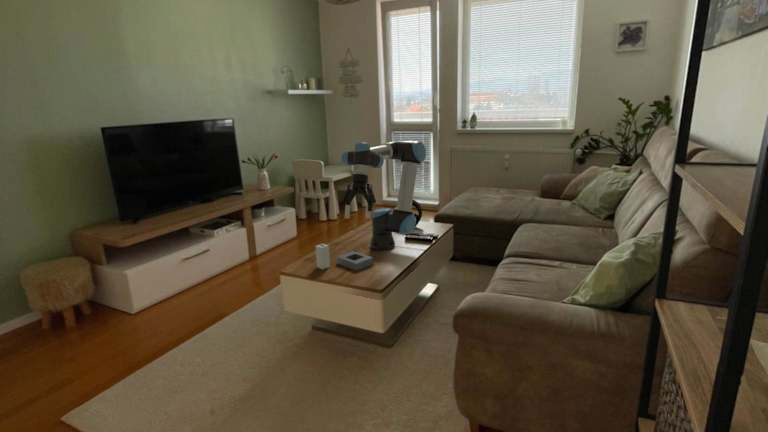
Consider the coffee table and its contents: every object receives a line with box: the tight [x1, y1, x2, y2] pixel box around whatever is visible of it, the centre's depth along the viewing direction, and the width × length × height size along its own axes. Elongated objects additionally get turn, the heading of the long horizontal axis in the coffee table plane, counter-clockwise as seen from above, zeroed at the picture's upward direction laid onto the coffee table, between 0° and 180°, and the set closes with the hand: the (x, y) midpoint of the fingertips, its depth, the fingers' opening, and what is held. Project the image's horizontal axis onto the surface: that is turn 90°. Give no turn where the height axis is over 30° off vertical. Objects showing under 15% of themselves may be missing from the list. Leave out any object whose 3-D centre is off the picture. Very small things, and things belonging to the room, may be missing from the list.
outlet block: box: [336, 250, 374, 272], centre depth 230 cm, size 16×12×4 cm
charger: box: [314, 243, 331, 270], centre depth 226 cm, size 5×5×12 cm
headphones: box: [394, 199, 423, 228], centre depth 293 cm, size 19×7×20 cm, turn 73°
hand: (357, 218), depth 204 cm, fingers open, 13 cm apart
